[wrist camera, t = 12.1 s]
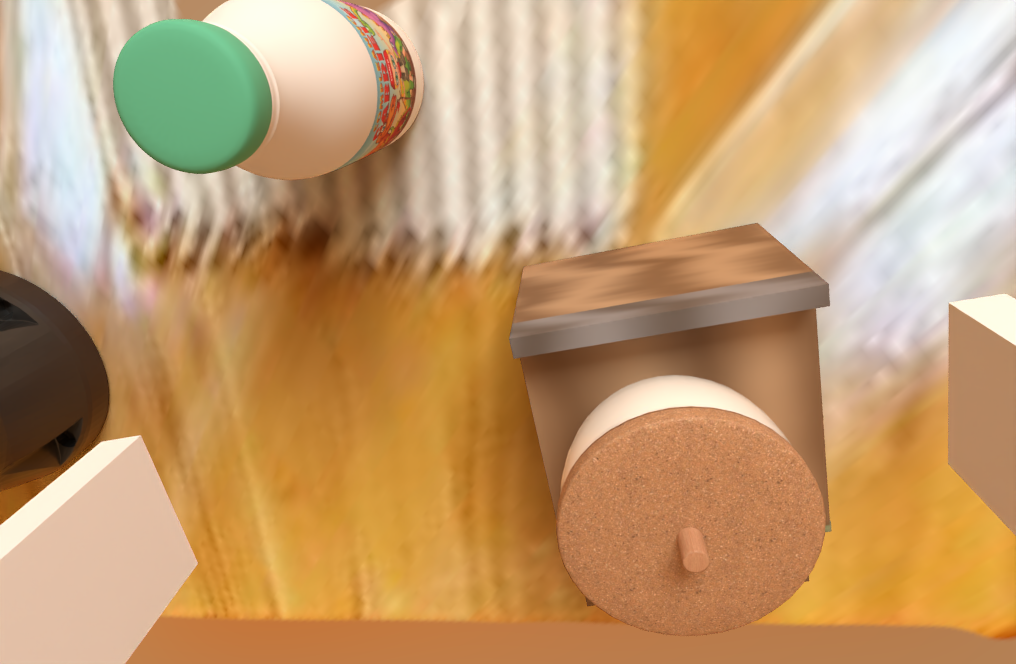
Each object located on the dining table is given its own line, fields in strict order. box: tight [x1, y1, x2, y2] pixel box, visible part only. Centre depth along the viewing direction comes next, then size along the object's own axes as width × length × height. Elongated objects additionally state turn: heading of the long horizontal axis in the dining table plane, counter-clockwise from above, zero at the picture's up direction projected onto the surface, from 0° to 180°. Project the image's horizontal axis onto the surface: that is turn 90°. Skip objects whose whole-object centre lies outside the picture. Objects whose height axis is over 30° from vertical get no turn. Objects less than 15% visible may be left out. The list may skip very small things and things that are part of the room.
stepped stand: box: [509, 223, 831, 606], centre depth 40 cm, size 14×22×12 cm, turn 12°
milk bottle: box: [113, 0, 424, 180], centre depth 31 cm, size 8×8×20 cm
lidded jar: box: [556, 375, 826, 636], centre depth 31 cm, size 11×11×9 cm
